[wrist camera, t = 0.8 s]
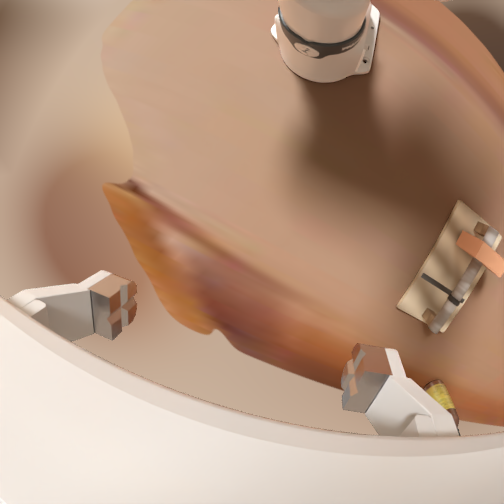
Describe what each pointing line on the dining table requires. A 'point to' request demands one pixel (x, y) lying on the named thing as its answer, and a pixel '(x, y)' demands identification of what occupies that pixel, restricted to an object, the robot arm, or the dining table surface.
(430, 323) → the pipe stand
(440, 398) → the sauce bottle
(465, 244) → the bridge block
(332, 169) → the dining table surface
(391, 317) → the dining table surface
